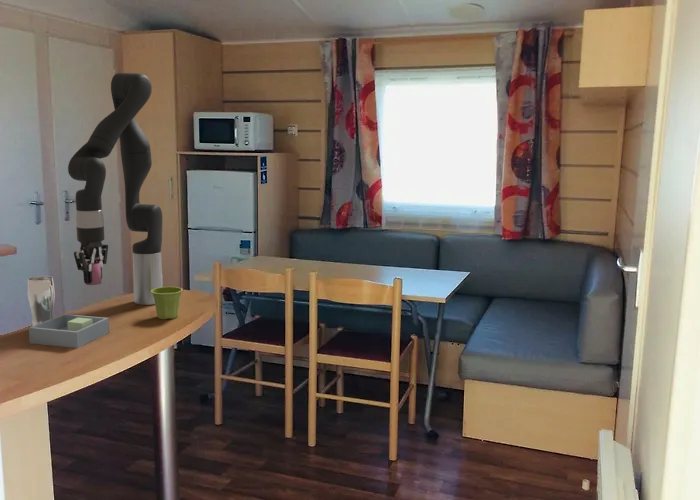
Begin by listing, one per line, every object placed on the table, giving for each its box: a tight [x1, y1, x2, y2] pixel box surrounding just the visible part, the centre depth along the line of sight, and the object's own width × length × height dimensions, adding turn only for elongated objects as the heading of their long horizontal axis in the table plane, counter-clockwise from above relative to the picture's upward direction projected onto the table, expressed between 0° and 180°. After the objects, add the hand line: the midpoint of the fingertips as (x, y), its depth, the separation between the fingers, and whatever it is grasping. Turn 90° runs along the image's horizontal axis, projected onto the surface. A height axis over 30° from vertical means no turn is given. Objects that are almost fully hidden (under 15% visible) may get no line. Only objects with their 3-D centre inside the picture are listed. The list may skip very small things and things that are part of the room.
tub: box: [28, 313, 110, 349], centre depth 180 cm, size 15×15×4 cm
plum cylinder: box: [85, 262, 102, 286], centre depth 194 cm, size 4×4×6 cm
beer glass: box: [27, 275, 56, 327], centre depth 186 cm, size 7×7×15 cm
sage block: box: [67, 318, 93, 331], centre depth 178 cm, size 5×5×5 cm
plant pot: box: [151, 286, 183, 320], centre depth 202 cm, size 9×9×9 cm
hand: (93, 281), depth 194 cm, fingers closed on plum cylinder, 4 cm apart
